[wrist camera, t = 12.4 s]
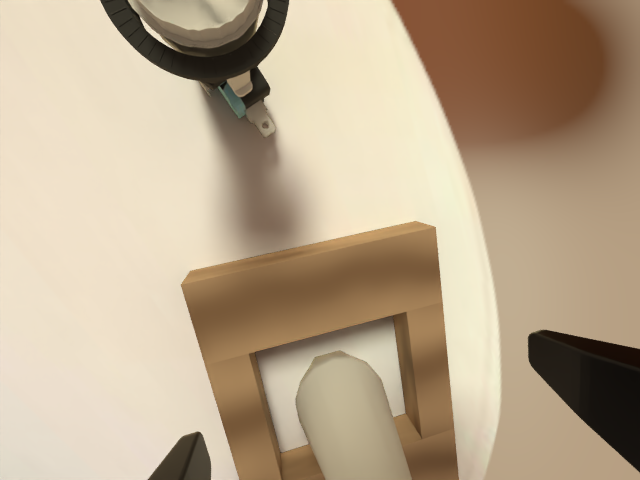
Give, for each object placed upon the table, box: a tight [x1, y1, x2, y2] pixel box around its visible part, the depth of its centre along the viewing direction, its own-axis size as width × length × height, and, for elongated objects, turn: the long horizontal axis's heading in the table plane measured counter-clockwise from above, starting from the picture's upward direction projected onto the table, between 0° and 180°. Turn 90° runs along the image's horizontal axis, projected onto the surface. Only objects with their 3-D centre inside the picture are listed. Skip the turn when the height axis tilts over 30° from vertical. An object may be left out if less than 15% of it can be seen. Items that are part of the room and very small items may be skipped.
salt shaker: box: [296, 350, 412, 480], centre depth 16 cm, size 6×6×13 cm
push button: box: [100, 0, 289, 138], centre depth 13 cm, size 7×5×10 cm
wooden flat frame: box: [181, 221, 459, 480], centre depth 22 cm, size 20×15×2 cm
